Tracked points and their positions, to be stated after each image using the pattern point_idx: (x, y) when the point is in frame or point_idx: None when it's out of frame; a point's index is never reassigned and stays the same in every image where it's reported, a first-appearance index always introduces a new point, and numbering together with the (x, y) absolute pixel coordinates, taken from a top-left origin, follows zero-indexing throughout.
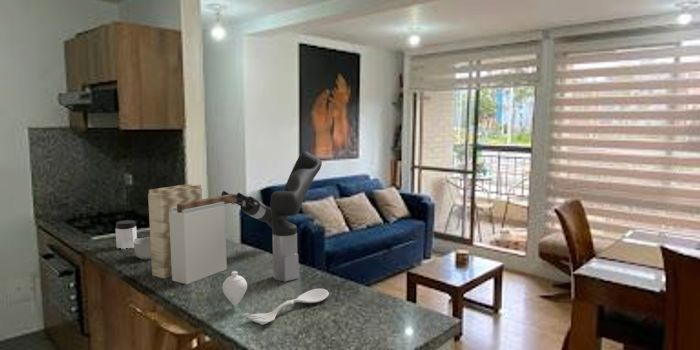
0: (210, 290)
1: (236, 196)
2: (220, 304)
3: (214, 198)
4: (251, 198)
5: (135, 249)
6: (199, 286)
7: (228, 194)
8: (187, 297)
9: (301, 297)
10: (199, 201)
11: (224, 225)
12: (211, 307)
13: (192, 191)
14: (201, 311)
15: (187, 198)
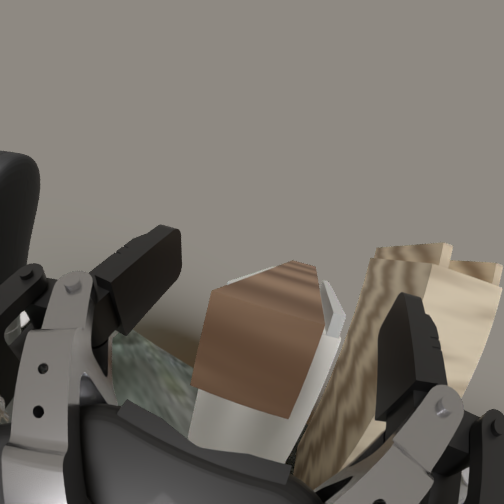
0: (161, 396)
1: (180, 266)
2: (130, 355)
3: (283, 269)
4: (16, 285)
5: (468, 469)
6: (192, 414)
7: (407, 370)
8: (190, 381)
9: (21, 322)
10: (289, 263)
11: (198, 397)
12: (140, 352)
13: (406, 268)
14: (151, 348)
15: (389, 293)
